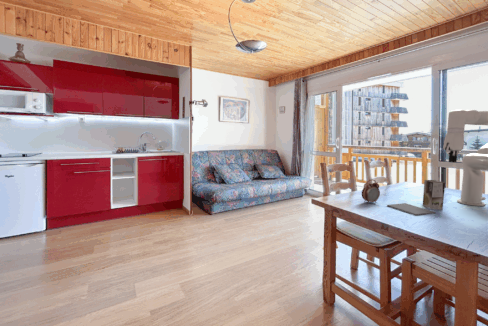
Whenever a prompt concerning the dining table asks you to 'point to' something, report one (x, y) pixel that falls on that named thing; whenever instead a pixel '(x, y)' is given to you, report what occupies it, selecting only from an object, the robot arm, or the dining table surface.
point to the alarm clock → (371, 192)
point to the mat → (411, 209)
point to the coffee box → (433, 194)
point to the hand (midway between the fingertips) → (452, 162)
